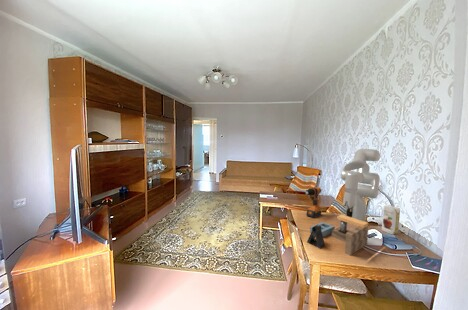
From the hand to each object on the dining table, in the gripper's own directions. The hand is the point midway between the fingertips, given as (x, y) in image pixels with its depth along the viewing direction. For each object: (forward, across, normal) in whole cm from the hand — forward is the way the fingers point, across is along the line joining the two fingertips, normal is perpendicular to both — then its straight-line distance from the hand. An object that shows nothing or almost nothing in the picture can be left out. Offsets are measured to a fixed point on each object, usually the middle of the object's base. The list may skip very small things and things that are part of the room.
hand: (349, 216), depth 136 cm
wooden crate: (+14, +14, +4) cm, 20 cm away
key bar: (+1, +7, +5) cm, 9 cm away
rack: (+14, +12, -12) cm, 22 cm away
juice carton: (+14, -33, +14) cm, 38 cm away
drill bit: (+13, +7, 0) cm, 15 cm away
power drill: (+14, -11, -35) cm, 39 cm away
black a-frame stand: (+14, +29, -6) cm, 33 cm away
